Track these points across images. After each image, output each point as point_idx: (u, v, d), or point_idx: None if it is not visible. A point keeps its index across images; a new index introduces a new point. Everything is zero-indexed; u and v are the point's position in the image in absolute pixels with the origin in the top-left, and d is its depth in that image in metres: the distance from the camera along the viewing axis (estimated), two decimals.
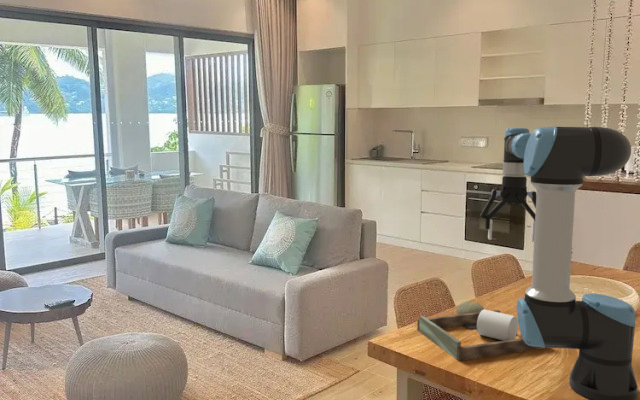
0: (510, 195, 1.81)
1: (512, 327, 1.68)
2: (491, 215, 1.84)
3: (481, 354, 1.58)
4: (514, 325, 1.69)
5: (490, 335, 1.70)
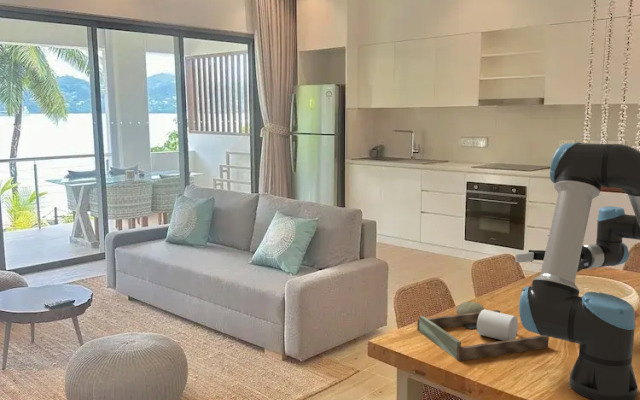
0: None
1: (512, 327, 1.68)
2: (536, 252, 1.83)
3: (481, 354, 1.58)
4: (514, 325, 1.69)
5: (490, 335, 1.70)
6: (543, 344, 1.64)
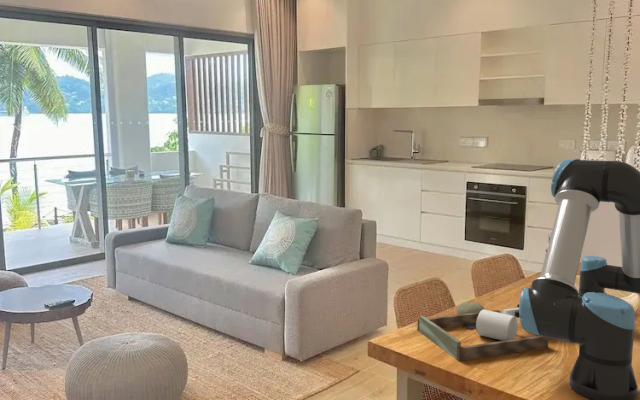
0: None
1: (511, 327, 1.68)
2: None
3: (481, 354, 1.58)
4: (513, 325, 1.69)
5: (489, 335, 1.70)
6: (543, 344, 1.64)
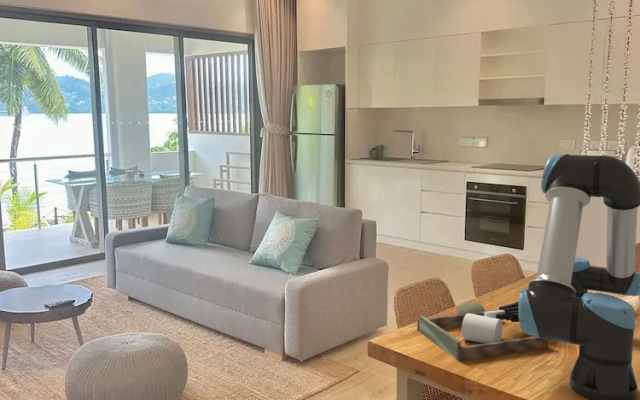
0: None
1: (498, 331, 1.65)
2: (506, 309, 1.76)
3: (481, 354, 1.58)
4: (499, 329, 1.66)
5: (475, 339, 1.67)
6: (543, 344, 1.64)
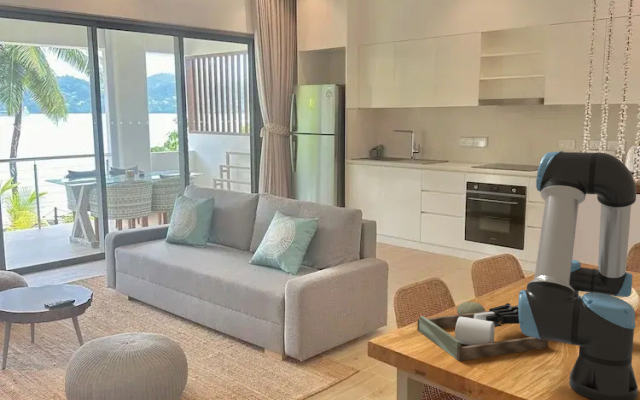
0: None
1: (491, 333, 1.63)
2: (496, 310, 1.74)
3: (481, 354, 1.58)
4: (492, 331, 1.64)
5: (469, 343, 1.64)
6: (543, 344, 1.64)
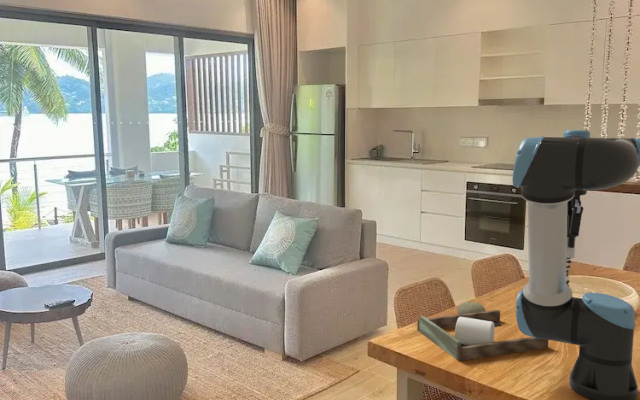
0: None
1: (491, 333, 1.63)
2: None
3: (481, 354, 1.58)
4: (492, 331, 1.64)
5: (469, 343, 1.64)
6: (543, 344, 1.64)
